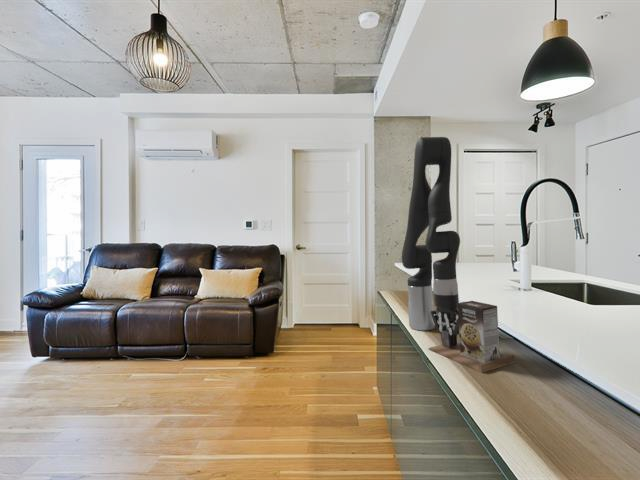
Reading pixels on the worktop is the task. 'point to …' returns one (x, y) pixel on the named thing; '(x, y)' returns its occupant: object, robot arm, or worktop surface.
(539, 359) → the worktop surface
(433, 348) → the brown wooden flat block
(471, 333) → the brown boxy piece
